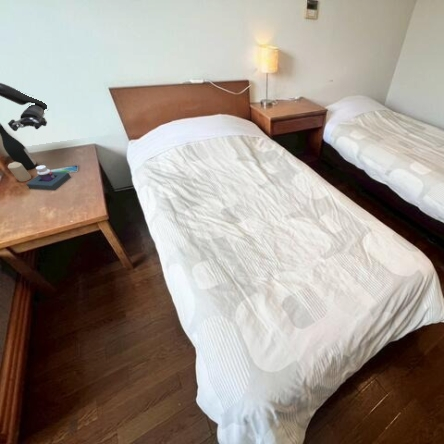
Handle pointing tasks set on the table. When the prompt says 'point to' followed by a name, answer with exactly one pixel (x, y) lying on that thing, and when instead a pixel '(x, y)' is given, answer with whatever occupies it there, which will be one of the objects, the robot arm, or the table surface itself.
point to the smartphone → (66, 169)
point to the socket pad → (51, 185)
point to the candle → (19, 171)
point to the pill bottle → (44, 173)
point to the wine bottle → (16, 150)
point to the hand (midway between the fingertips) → (24, 128)
